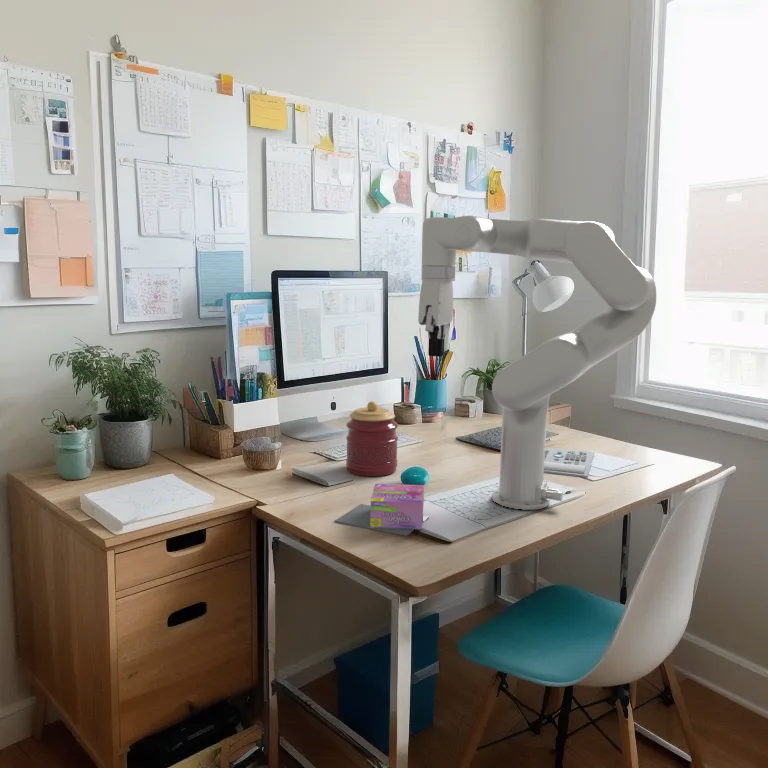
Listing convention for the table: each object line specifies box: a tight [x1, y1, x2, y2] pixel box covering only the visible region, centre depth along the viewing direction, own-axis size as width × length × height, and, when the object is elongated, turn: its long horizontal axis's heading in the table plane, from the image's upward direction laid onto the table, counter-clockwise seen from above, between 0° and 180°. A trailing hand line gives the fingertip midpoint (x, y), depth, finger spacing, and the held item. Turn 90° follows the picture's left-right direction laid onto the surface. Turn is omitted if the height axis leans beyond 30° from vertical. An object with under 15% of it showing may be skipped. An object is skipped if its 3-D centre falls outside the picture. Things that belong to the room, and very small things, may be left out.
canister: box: [345, 400, 399, 477], centre depth 182 cm, size 13×13×18 cm
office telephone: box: [544, 447, 596, 479], centre depth 194 cm, size 23×3×20 cm
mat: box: [334, 503, 415, 537], centre depth 149 cm, size 16×12×1 cm
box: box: [370, 483, 425, 531], centre depth 148 cm, size 10×6×12 cm
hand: (436, 355), depth 165 cm, fingers closed
